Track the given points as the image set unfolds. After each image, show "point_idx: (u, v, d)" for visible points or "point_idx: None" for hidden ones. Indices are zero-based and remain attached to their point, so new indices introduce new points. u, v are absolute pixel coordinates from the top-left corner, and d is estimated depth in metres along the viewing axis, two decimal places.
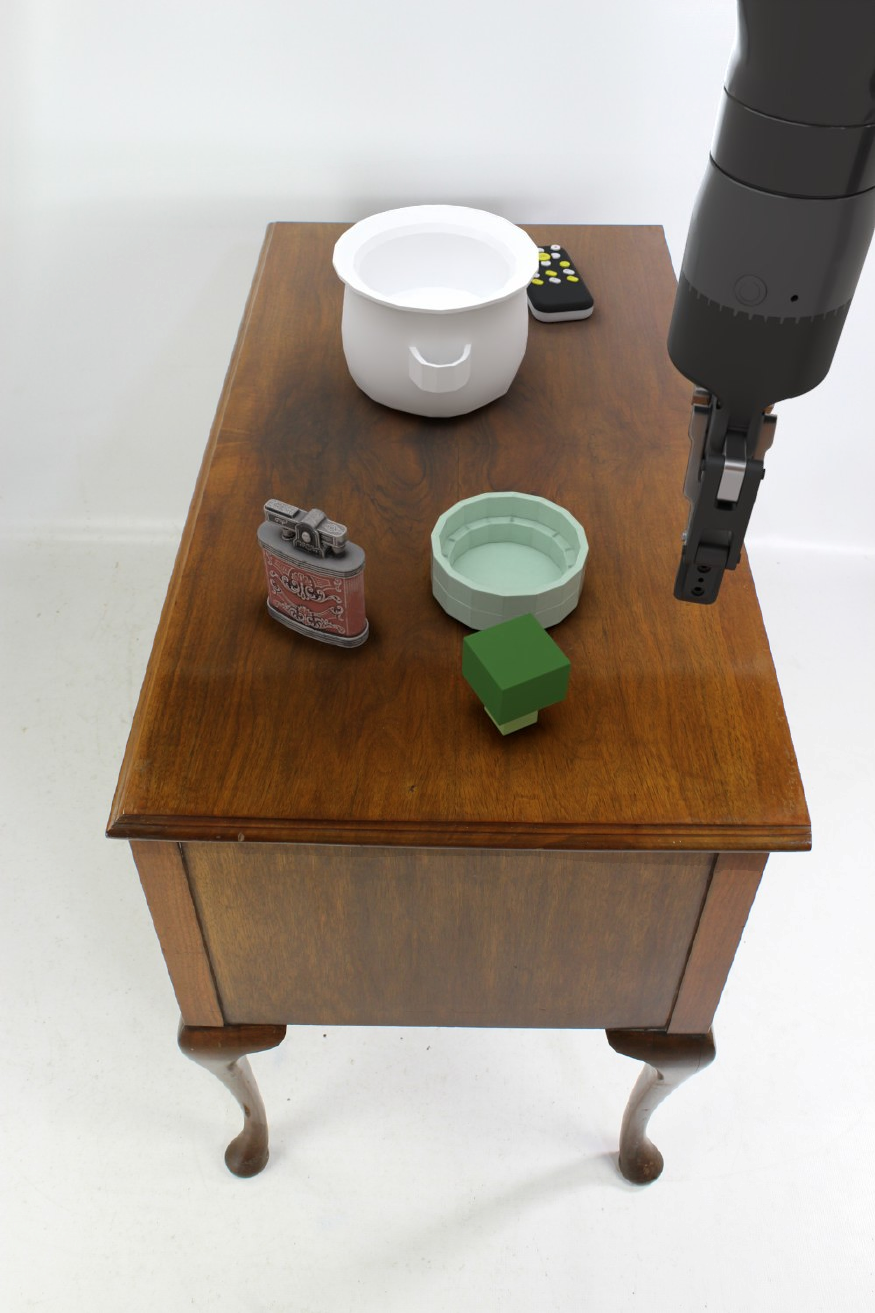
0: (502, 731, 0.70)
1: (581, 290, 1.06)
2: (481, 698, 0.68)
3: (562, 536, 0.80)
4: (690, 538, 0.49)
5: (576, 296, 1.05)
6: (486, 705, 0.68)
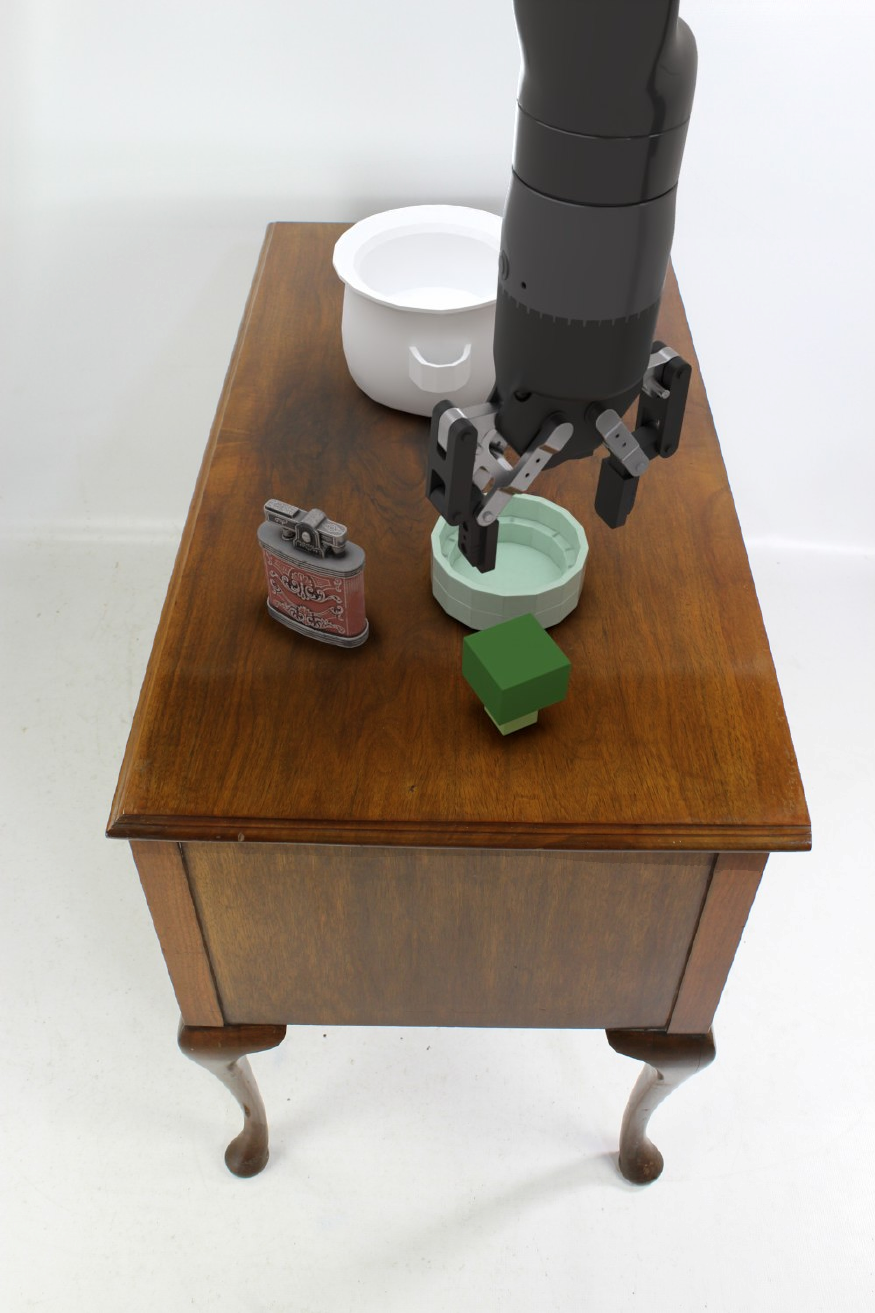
0: (502, 731, 0.70)
1: None
2: (481, 698, 0.68)
3: (562, 536, 0.80)
4: (427, 474, 0.54)
5: None
6: (486, 705, 0.68)
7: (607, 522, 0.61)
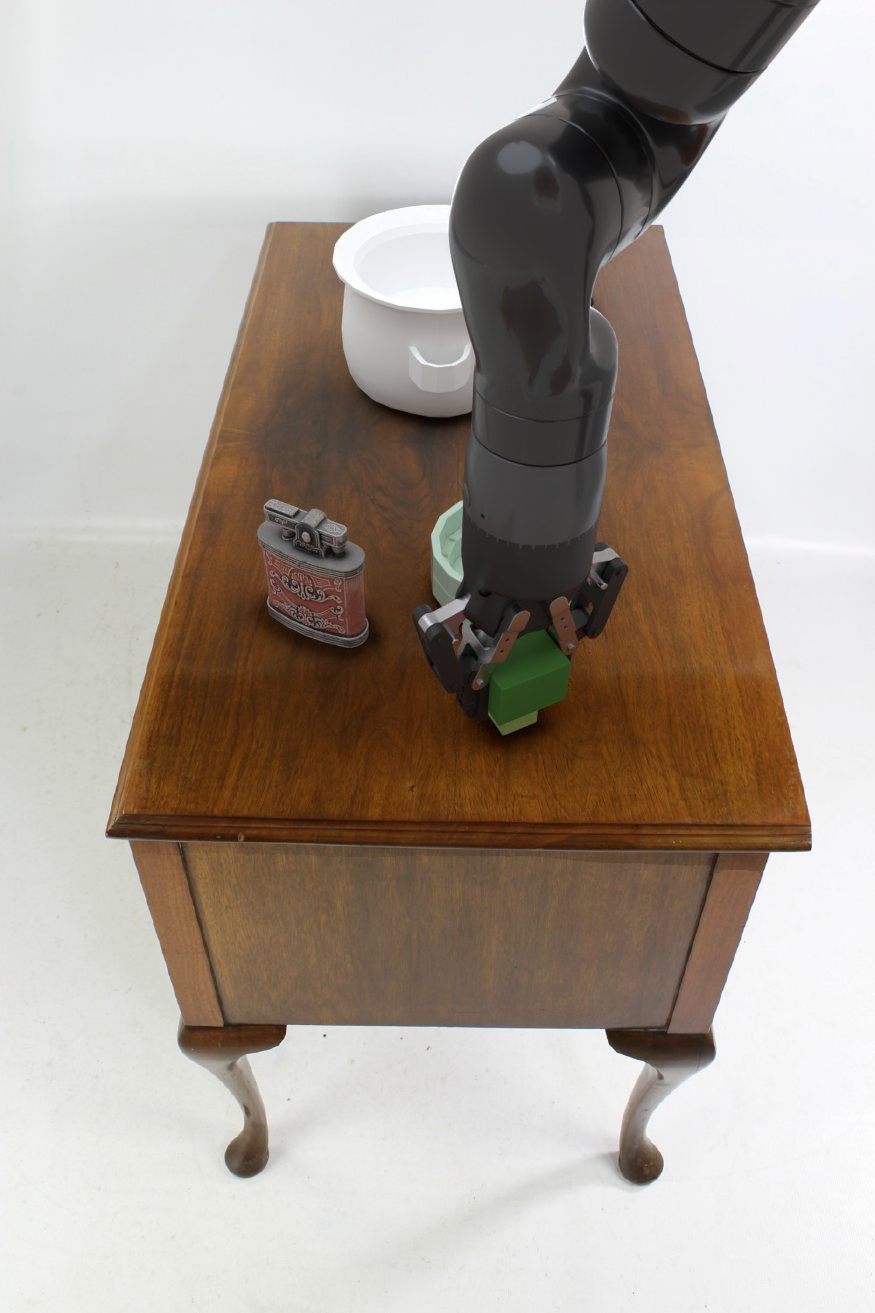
0: (502, 731, 0.70)
1: None
2: None
3: None
4: (425, 654, 0.65)
5: None
6: None
7: None
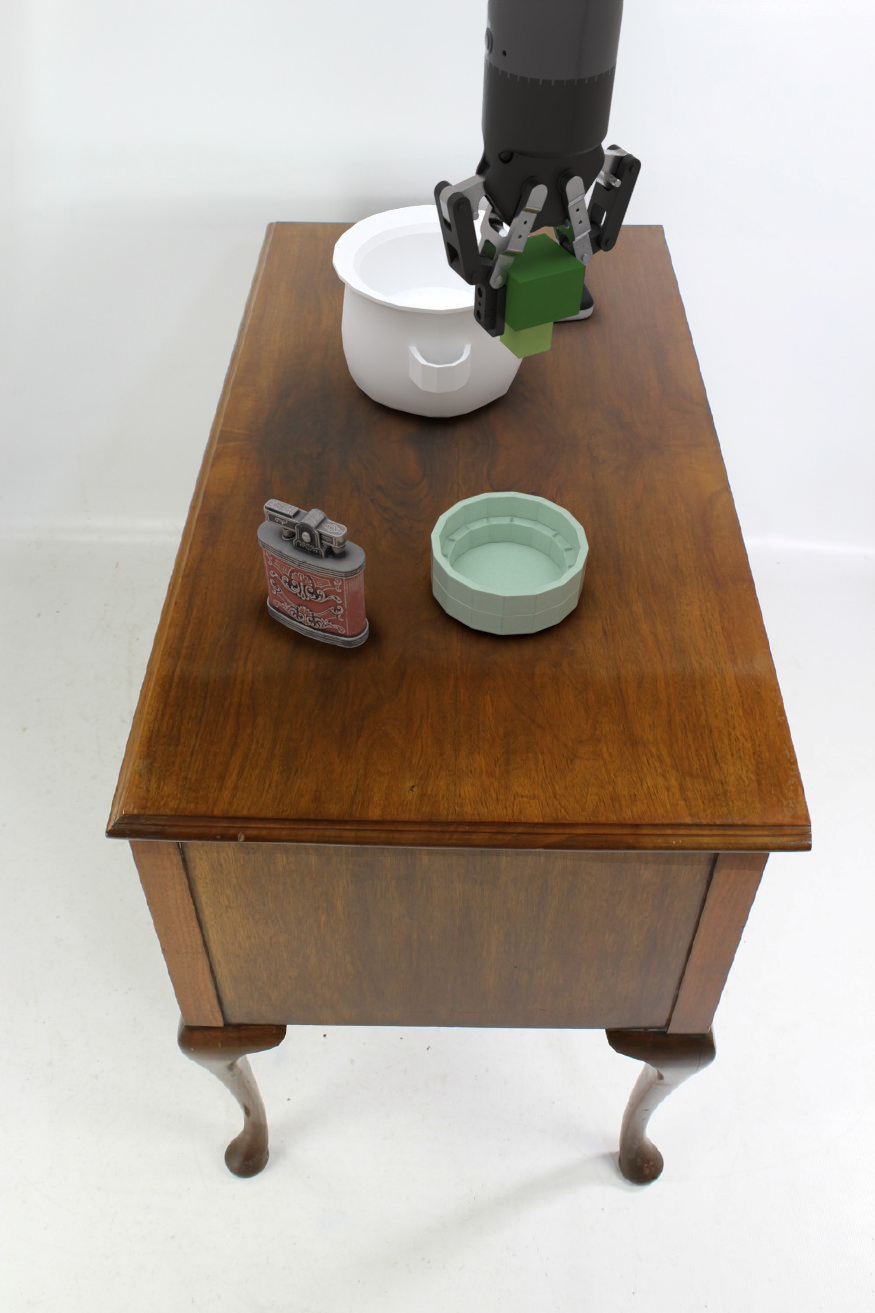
0: (517, 353, 0.73)
1: None
2: None
3: (562, 536, 0.80)
4: (445, 247, 0.67)
5: None
6: None
7: None
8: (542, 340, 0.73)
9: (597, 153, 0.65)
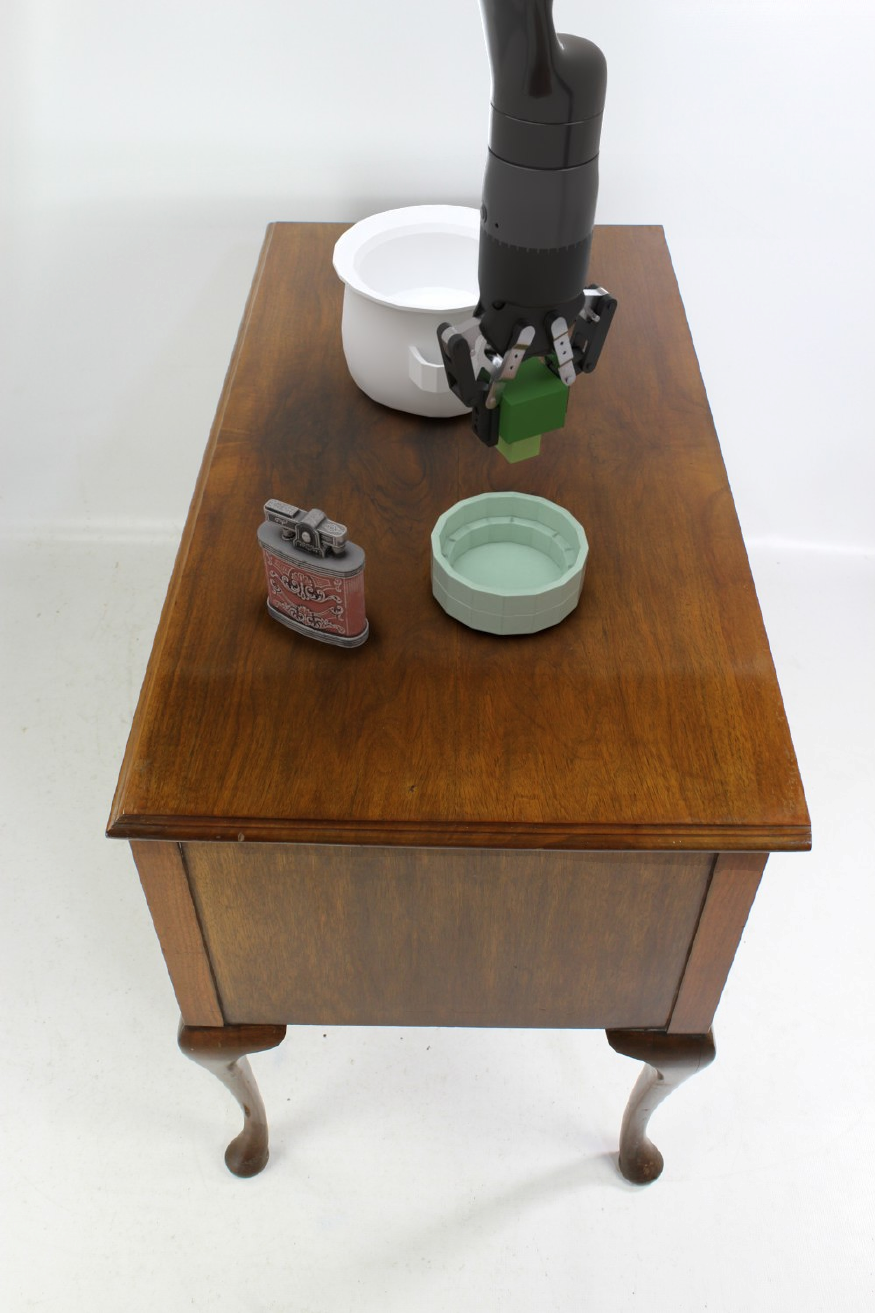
0: (510, 459, 0.83)
1: None
2: None
3: (562, 536, 0.80)
4: (446, 374, 0.77)
5: None
6: None
7: None
8: (532, 447, 0.83)
9: (578, 296, 0.75)
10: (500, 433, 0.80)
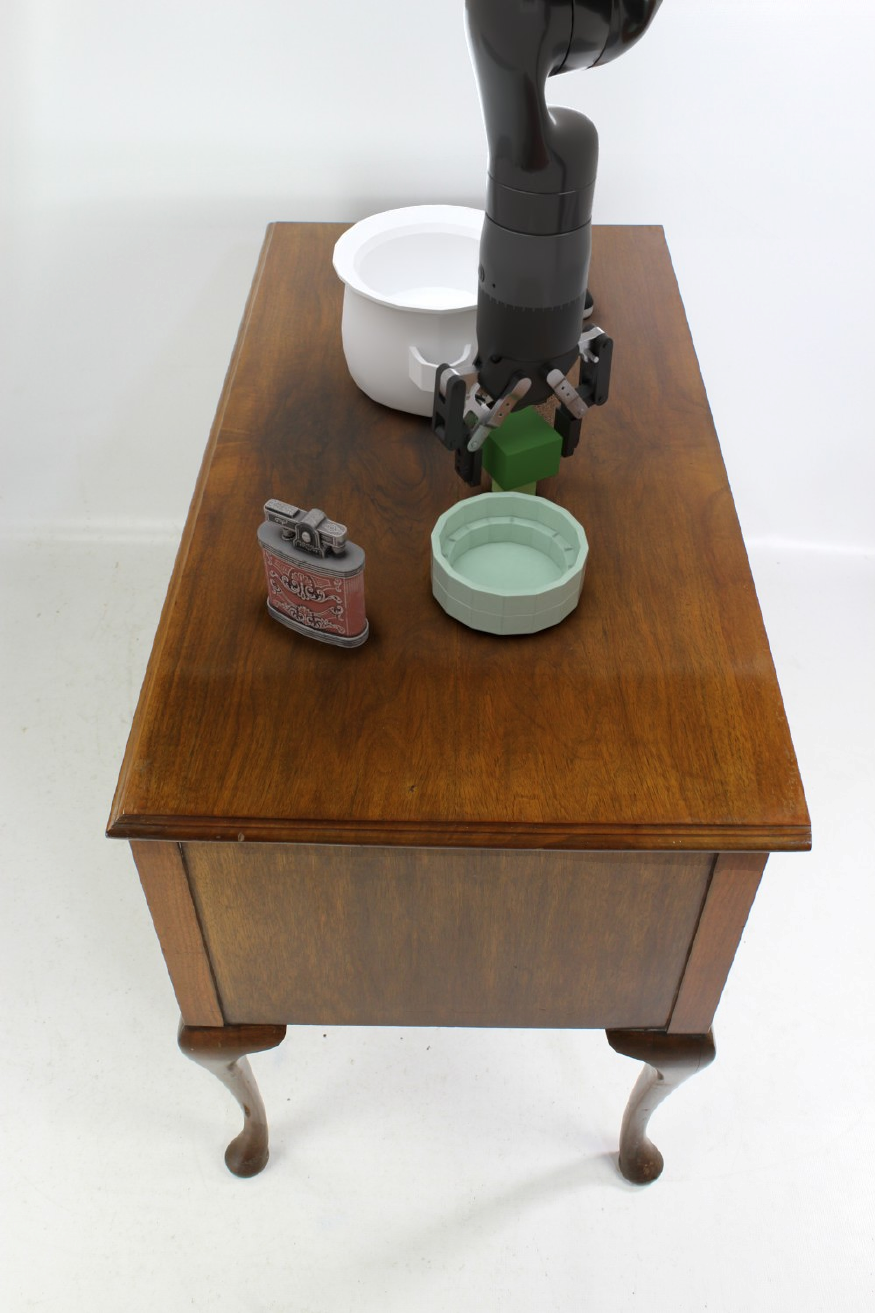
0: None
1: None
2: (489, 472, 0.84)
3: (562, 536, 0.80)
4: (433, 415, 0.79)
5: None
6: (493, 476, 0.84)
7: (561, 453, 0.86)
8: (527, 493, 0.86)
9: None
10: (497, 480, 0.83)
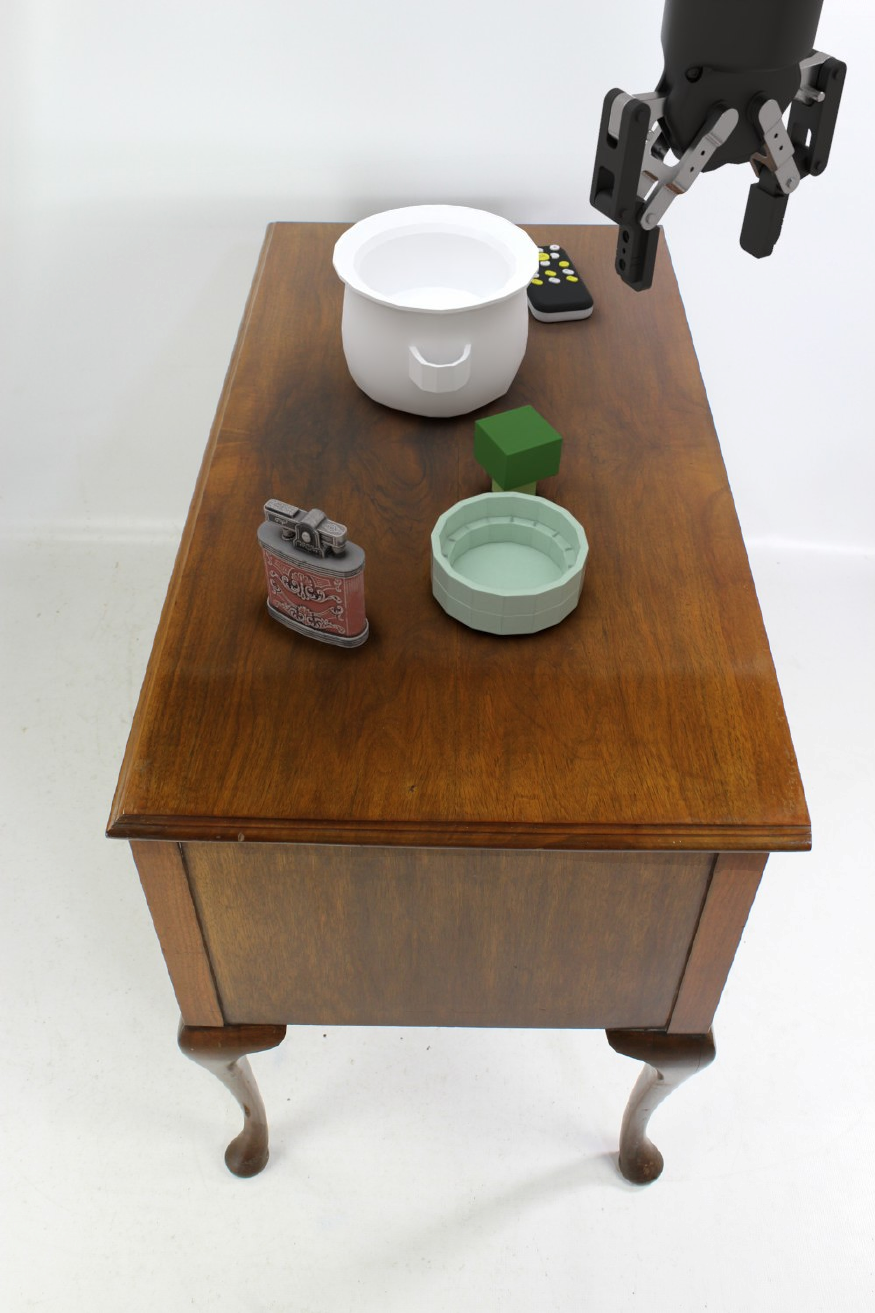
0: None
1: (581, 290, 1.06)
2: (489, 472, 0.84)
3: (562, 536, 0.80)
4: (593, 175, 0.56)
5: (576, 296, 1.05)
6: (493, 476, 0.84)
7: (754, 253, 0.63)
8: (527, 493, 0.86)
9: (792, 72, 0.55)
10: (497, 480, 0.83)
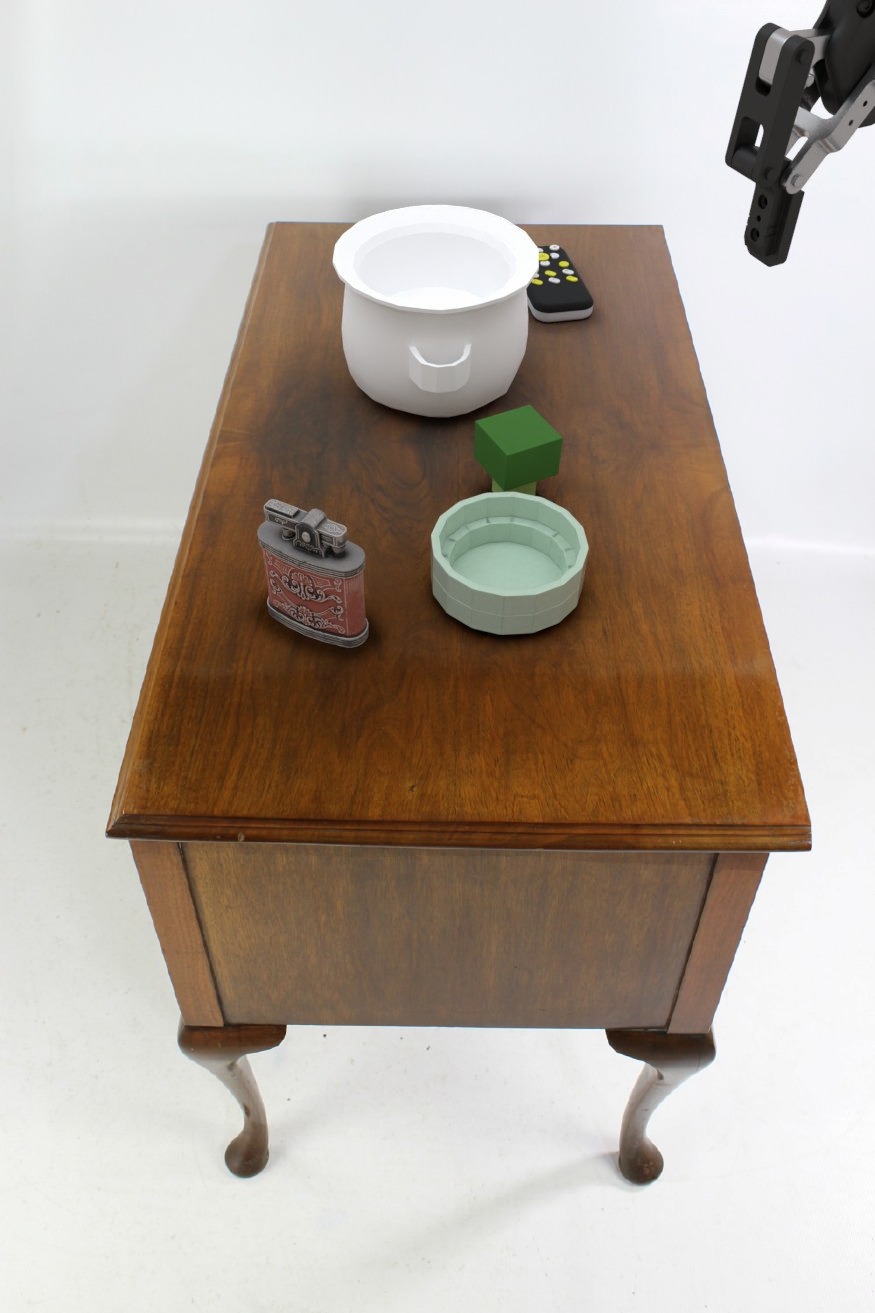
0: None
1: (581, 289, 1.06)
2: (489, 472, 0.84)
3: (562, 536, 0.80)
4: (733, 128, 0.48)
5: (575, 296, 1.05)
6: (493, 476, 0.84)
7: None
8: (527, 493, 0.86)
9: None
10: (497, 480, 0.83)
